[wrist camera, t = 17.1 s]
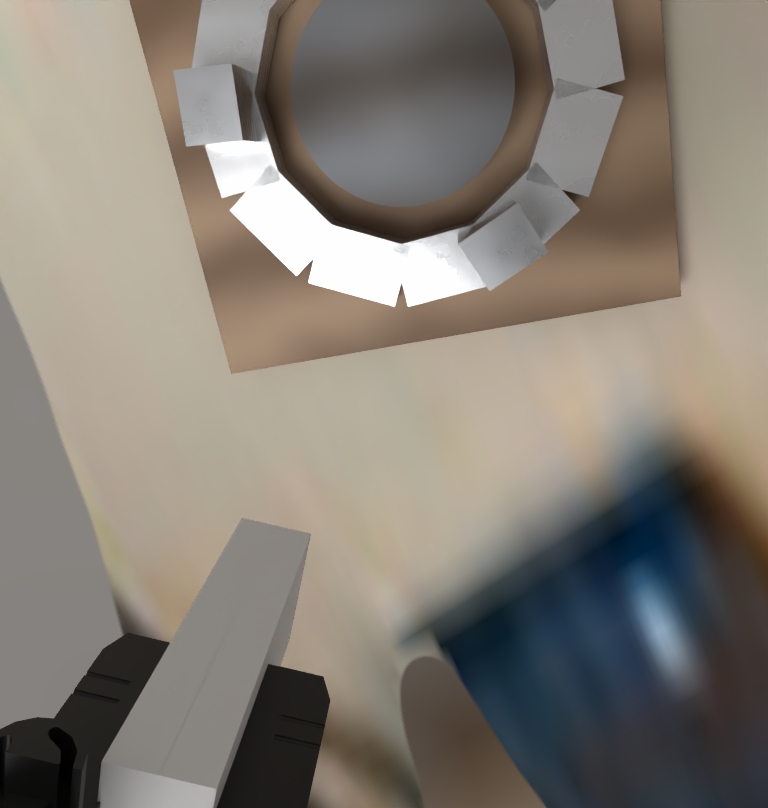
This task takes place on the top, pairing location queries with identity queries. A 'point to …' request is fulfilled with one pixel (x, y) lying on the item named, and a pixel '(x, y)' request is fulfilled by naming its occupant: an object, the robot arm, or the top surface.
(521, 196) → the grey block ring
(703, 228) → the top surface
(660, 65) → the walnut base
